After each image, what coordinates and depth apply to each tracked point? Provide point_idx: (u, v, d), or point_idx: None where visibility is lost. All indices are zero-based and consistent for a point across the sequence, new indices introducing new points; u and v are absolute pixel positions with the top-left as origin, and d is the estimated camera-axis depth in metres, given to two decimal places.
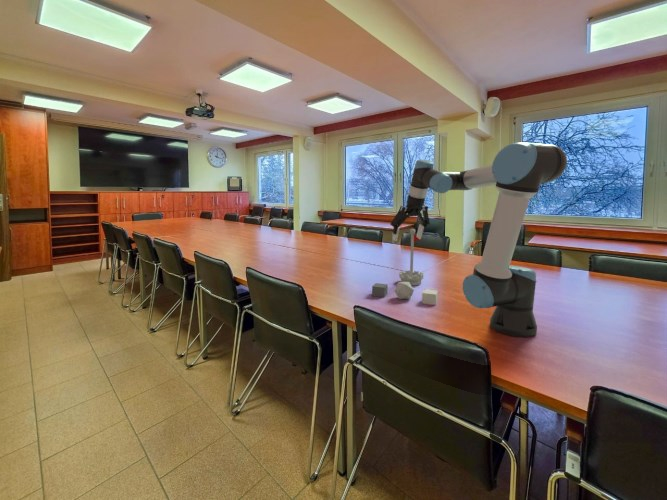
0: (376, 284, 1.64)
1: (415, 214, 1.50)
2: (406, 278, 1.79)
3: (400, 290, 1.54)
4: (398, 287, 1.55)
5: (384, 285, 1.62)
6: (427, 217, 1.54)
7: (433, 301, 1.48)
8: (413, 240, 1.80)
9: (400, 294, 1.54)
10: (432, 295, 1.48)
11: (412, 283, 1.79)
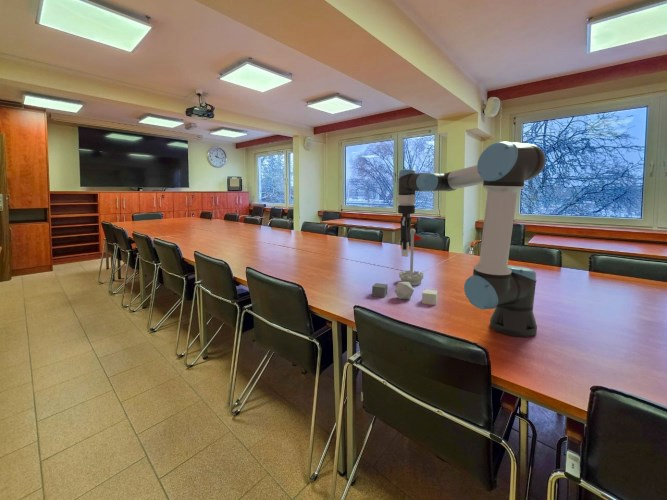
0: (376, 284, 1.64)
1: (408, 223, 1.52)
2: (406, 278, 1.79)
3: (400, 290, 1.54)
4: (398, 287, 1.55)
5: (384, 285, 1.62)
6: None
7: (433, 301, 1.48)
8: (413, 240, 1.80)
9: (400, 294, 1.54)
10: (432, 295, 1.48)
11: (412, 283, 1.79)
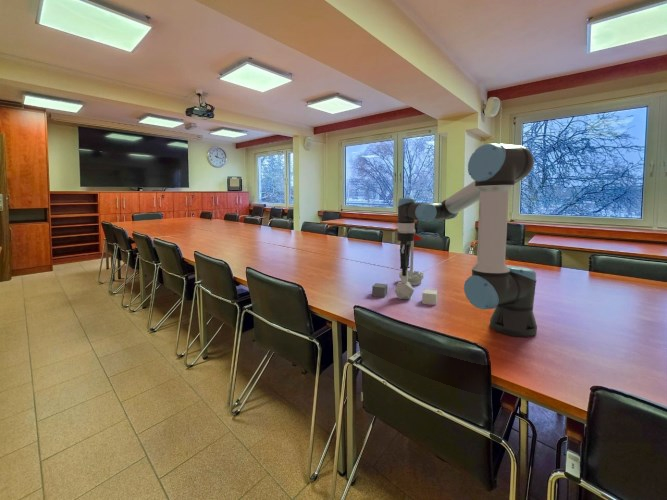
0: (376, 284, 1.64)
1: None
2: None
3: (400, 290, 1.54)
4: (398, 287, 1.55)
5: (384, 285, 1.62)
6: None
7: (433, 301, 1.48)
8: (413, 240, 1.80)
9: (400, 294, 1.54)
10: (432, 295, 1.48)
11: (412, 283, 1.79)
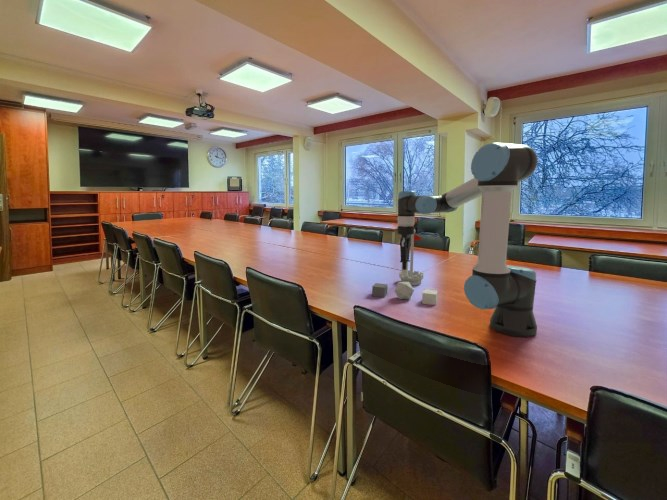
0: (376, 284, 1.64)
1: None
2: (406, 278, 1.79)
3: (400, 290, 1.54)
4: (398, 287, 1.55)
5: (384, 285, 1.62)
6: (409, 250, 1.57)
7: (433, 301, 1.48)
8: (413, 240, 1.80)
9: (400, 294, 1.54)
10: (432, 295, 1.48)
11: (412, 283, 1.79)
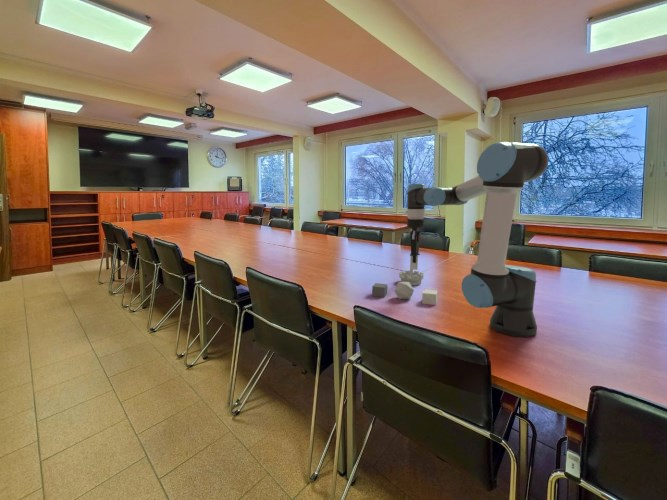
0: (376, 284, 1.64)
1: None
2: (406, 278, 1.79)
3: (400, 290, 1.54)
4: (398, 287, 1.55)
5: (384, 285, 1.62)
6: (418, 244, 1.56)
7: (433, 301, 1.48)
8: None
9: (400, 294, 1.54)
10: (432, 295, 1.48)
11: (412, 283, 1.79)
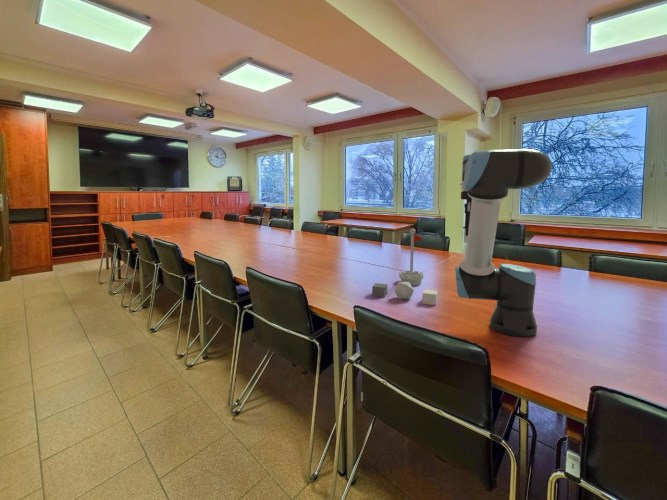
0: (376, 284, 1.64)
1: None
2: (406, 278, 1.79)
3: (400, 290, 1.54)
4: (398, 287, 1.55)
5: (384, 285, 1.62)
6: None
7: (433, 301, 1.48)
8: (413, 240, 1.80)
9: (400, 294, 1.54)
10: (432, 295, 1.48)
11: (412, 283, 1.79)
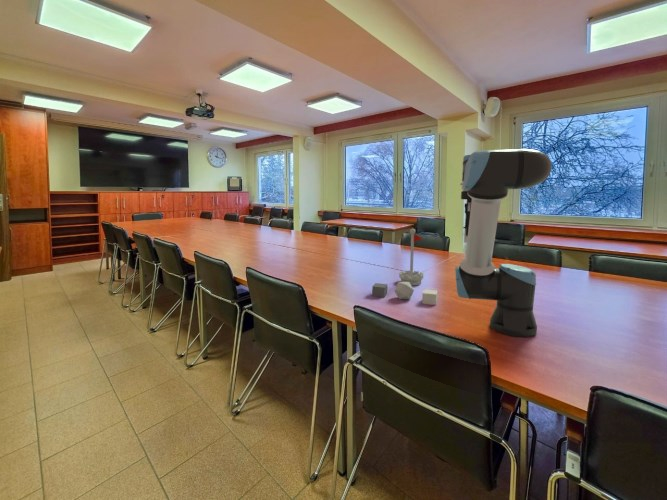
0: (376, 284, 1.64)
1: None
2: (406, 278, 1.79)
3: (400, 290, 1.54)
4: (398, 287, 1.55)
5: (384, 285, 1.62)
6: None
7: (433, 301, 1.48)
8: (413, 240, 1.80)
9: (400, 294, 1.54)
10: (432, 295, 1.48)
11: (412, 283, 1.79)
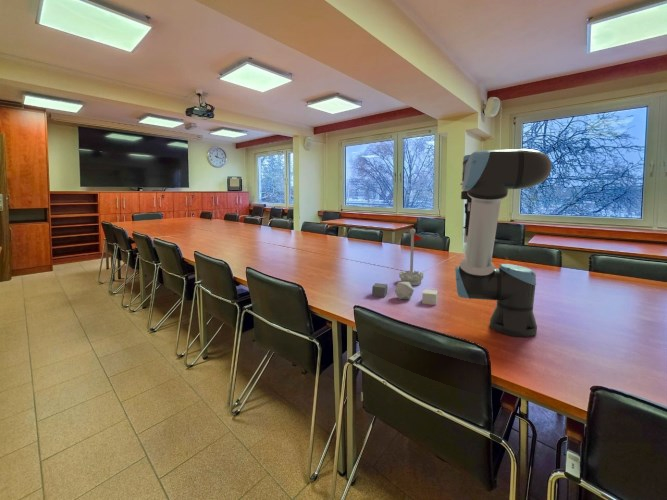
0: (376, 284, 1.64)
1: None
2: (406, 278, 1.79)
3: (400, 290, 1.54)
4: (398, 287, 1.55)
5: (384, 285, 1.62)
6: None
7: (433, 301, 1.48)
8: (413, 240, 1.80)
9: (400, 294, 1.54)
10: (432, 295, 1.48)
11: (412, 283, 1.79)
